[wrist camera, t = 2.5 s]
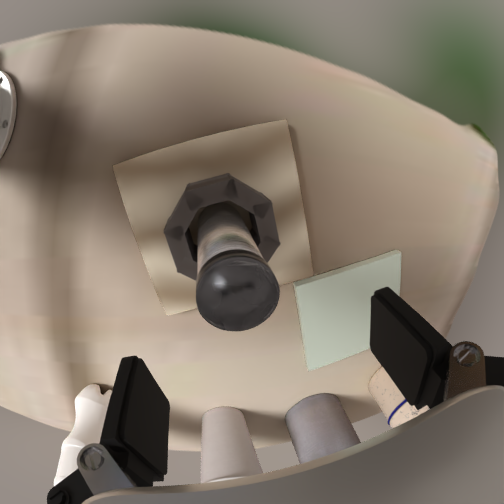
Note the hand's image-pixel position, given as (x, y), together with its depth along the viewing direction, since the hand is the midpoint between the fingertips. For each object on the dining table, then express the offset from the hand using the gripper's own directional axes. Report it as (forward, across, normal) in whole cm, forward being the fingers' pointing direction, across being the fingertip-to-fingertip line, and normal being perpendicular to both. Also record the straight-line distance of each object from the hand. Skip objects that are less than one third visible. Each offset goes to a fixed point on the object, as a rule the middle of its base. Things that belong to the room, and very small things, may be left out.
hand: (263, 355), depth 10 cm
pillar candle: (+20, -5, +34) cm, 40 cm away
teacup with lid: (+20, -21, +33) cm, 44 cm away
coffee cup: (+19, +9, +29) cm, 36 cm away
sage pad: (+19, -12, +15) cm, 27 cm away
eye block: (+19, +1, -1) cm, 19 cm away
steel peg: (+17, +1, -1) cm, 17 cm away
